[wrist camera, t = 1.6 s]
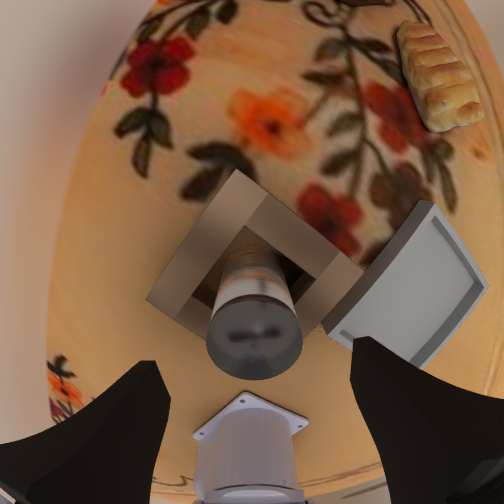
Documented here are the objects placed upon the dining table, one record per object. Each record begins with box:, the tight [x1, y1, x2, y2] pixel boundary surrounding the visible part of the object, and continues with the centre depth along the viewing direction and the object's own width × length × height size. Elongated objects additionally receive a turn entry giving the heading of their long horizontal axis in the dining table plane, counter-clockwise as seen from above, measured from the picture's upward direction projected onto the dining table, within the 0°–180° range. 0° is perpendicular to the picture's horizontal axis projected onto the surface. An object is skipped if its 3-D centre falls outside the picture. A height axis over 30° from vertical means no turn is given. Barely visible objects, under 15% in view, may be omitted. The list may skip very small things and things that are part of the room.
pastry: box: [396, 20, 485, 133], centre depth 13 cm, size 9×7×4 cm
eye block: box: [145, 169, 364, 340], centre depth 18 cm, size 10×10×2 cm
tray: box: [321, 199, 489, 370], centre depth 19 cm, size 12×11×2 cm
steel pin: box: [206, 245, 303, 380], centre depth 15 cm, size 4×4×8 cm
